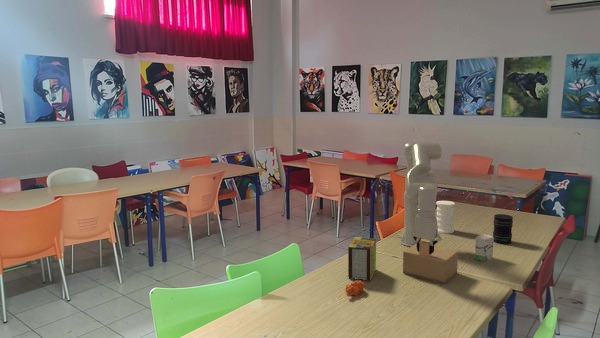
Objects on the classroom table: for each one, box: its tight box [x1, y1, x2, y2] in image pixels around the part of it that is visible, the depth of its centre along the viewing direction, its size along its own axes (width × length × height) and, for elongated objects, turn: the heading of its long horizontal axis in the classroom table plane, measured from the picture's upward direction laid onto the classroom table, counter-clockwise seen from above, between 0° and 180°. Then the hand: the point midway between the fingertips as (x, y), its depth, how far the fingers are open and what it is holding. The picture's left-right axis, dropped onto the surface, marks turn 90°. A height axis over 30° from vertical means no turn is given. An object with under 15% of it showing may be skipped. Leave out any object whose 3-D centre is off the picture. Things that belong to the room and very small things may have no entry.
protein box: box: [347, 236, 377, 282], centre depth 208 cm, size 10×15×16 cm
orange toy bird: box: [344, 279, 366, 297], centre depth 188 cm, size 5×8×12 cm
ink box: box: [474, 233, 494, 262], centre depth 226 cm, size 9×5×12 cm, turn 123°
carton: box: [402, 252, 459, 285], centre depth 208 cm, size 20×16×10 cm
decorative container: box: [435, 200, 456, 235], centre depth 274 cm, size 12×12×18 cm
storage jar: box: [492, 213, 514, 245], centre depth 252 cm, size 10×10×15 cm
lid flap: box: [402, 240, 459, 262], centre depth 207 cm, size 20×16×7 cm
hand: (425, 251), depth 202 cm, fingers closed on lid flap, 5 cm apart
